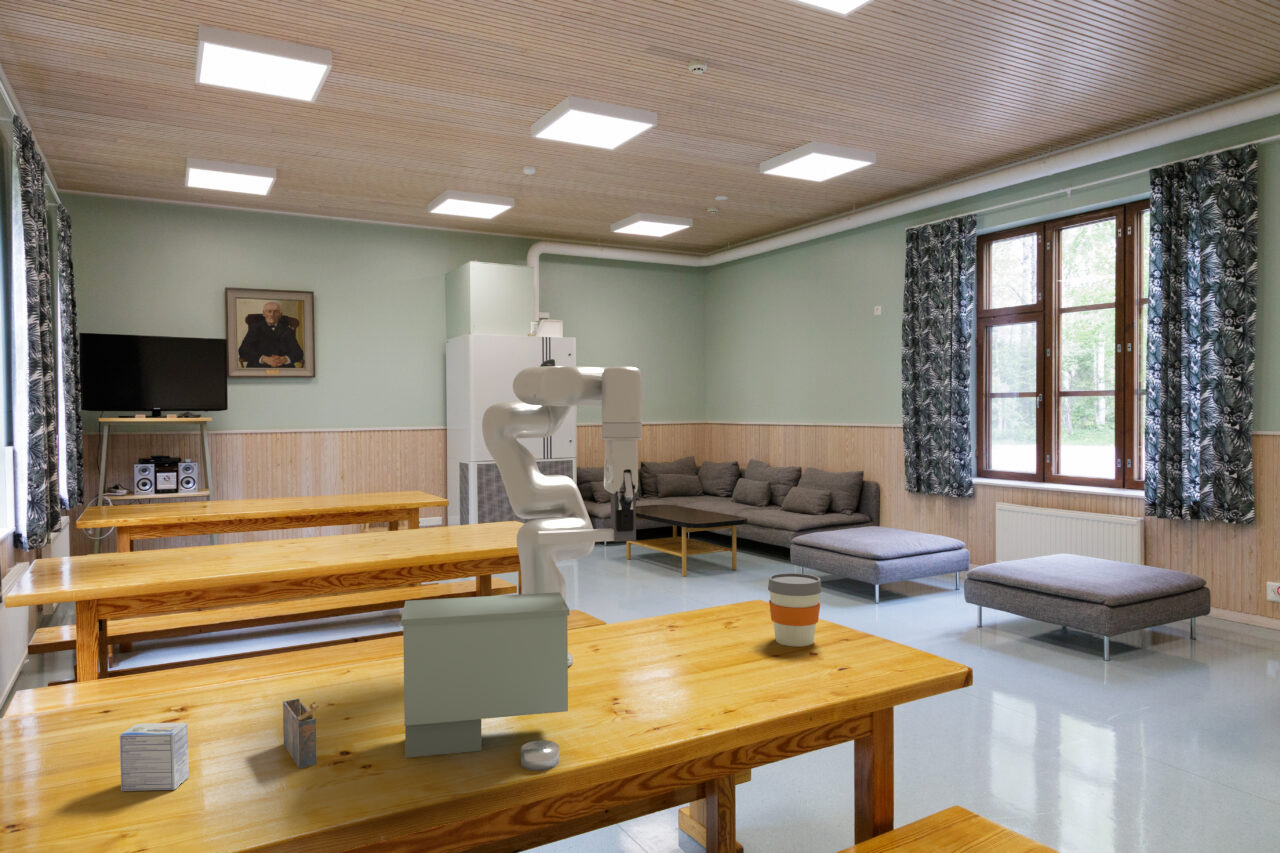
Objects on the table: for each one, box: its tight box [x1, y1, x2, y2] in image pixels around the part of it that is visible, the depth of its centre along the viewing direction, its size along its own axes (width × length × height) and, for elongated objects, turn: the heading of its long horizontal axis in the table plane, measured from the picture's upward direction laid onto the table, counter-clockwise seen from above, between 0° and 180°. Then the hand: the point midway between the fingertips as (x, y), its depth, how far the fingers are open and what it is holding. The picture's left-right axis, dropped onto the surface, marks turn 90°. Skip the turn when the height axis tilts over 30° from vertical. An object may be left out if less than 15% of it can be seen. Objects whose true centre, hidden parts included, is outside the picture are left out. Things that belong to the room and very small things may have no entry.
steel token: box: [520, 739, 560, 772], centre depth 131 cm, size 6×6×2 cm
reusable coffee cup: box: [767, 572, 822, 647], centre depth 197 cm, size 13×12×15 cm
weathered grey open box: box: [282, 698, 319, 770], centre depth 134 cm, size 11×3×10 cm, turn 35°
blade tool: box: [538, 491, 637, 544], centre depth 154 cm, size 4×18×9 cm, turn 103°
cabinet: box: [400, 592, 570, 759], centre depth 139 cm, size 13×27×23 cm, turn 103°
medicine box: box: [119, 722, 190, 792], centre depth 123 cm, size 8×4×9 cm, turn 92°
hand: (622, 528), depth 156 cm, fingers closed on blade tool, 4 cm apart
